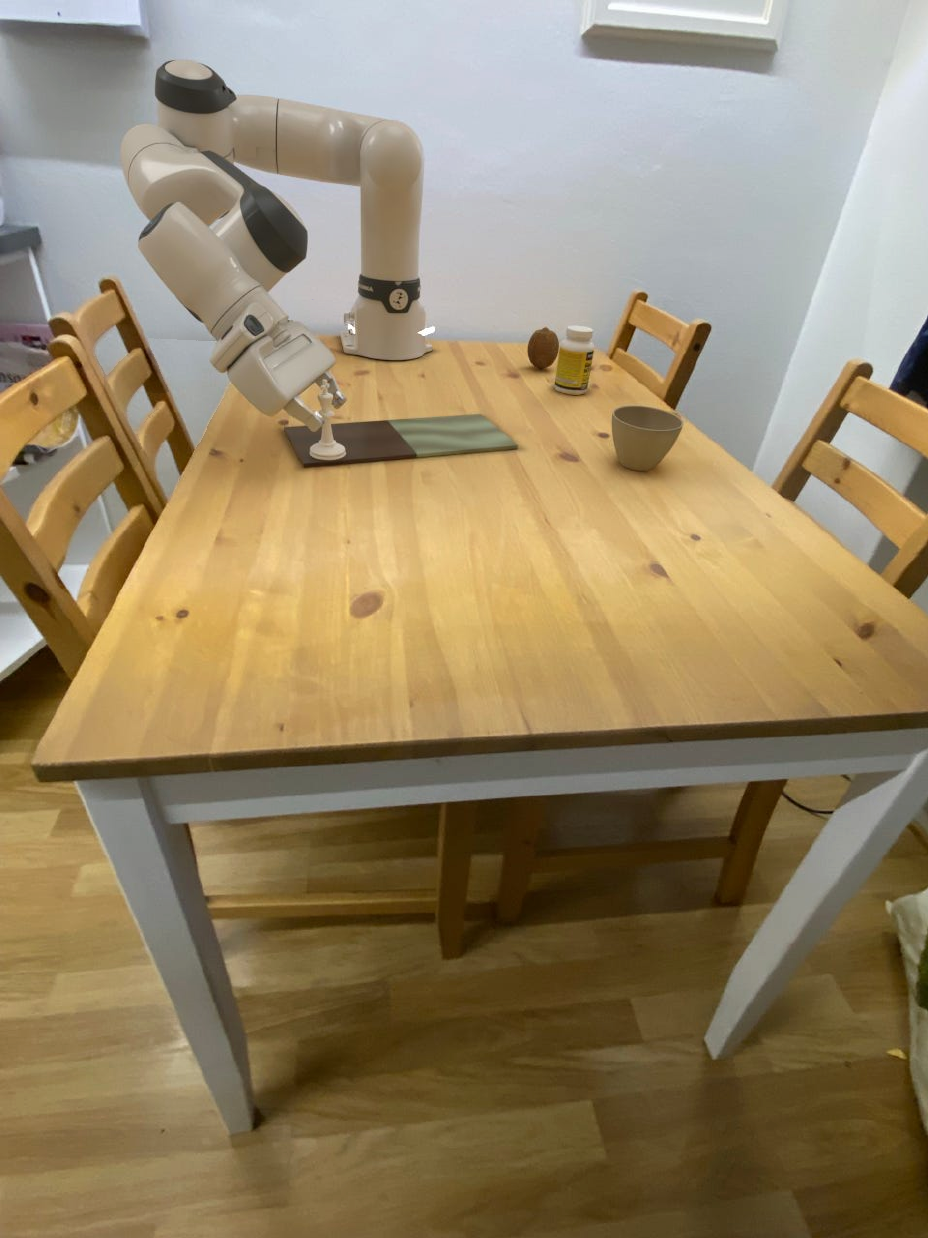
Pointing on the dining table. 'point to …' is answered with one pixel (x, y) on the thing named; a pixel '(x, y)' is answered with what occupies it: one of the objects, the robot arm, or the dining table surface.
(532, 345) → the fruit
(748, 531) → the dining table surface
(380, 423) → the mat
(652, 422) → the flower pot
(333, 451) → the chess piece
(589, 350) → the pill bottle
